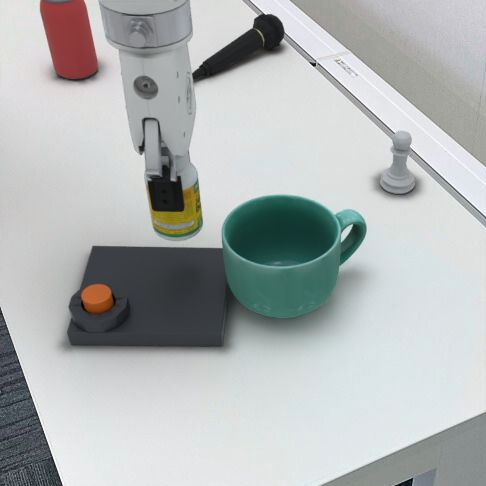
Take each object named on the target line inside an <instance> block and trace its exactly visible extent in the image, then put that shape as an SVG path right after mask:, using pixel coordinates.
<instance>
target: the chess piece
mask: <svg viewBox="0 0 486 486" xmlns="http://www.w3.org/2000/svg"><path fill="white" fill-rule="evenodd" d="M391 139H392V140H391V142H392V145H391V146H390V148H389V150H390V153H392V163H391V164H390V166H389V167H388V168H385V169H384V170H383V171H382V172H381V177H380V179H379V184H380V186H381V187H382V189H383V190H384V191H386V192H388V193H390V194H395V195H402V194H407V193H409V192H411V191H412V190H413V189H414V188H415V185H416V184H415V175H414V173H413V172H412V171H411V170H410V169H409V168H408V166H407V161H408V157H409V155H411V154H412V152H413V150H412V147H410V146H411V145H412V142H413V138H412V135H411V134H410V132H409V131H406V130H398V131H396V132H395V133H394V134H393V136H392V138H391Z"/></svg>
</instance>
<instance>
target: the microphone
mask: <svg viewBox="0 0 486 486" xmlns="http://www.w3.org/2000/svg"><path fill="white" fill-rule="evenodd" d="M285 32H286V31H285V26H284V23H283V22H282V20H281V19H280V18H279V17H278V16H276V15H275V14H272V13H266V14H265V13H261V14H259V15H257V16H256V17H255V18H254V19H253V24H252V27H251V28H250V29H248V30H247V31H246V32H244V33H242V34H240V36H238V37H237V38H235V39H234V40H232V41H231V42H229V43H228V44H227V45H225V46H223V47H222V48H220V49H219V50H218V51H216V52H215V53H214V54H212V55H211V56H209V57H208V58H206V59H205V60H204V61H202V63H201V64H200V65H199V66H198V68H196V69H195V70H194V71H193V72H192V77H193V81H195V80H197V79H200V78H202V77H205V78H206V77H207V76H212V75H213V74H215V73H217V72H220V71H221V70H223V69H226V68H227V67H228V66H231V65H232V64H234V63H236V62H238V61H241V60H242V59H244V58H245V57H248V56H249V55H252V54H253V53H256V52H257V51H259V50H261V49H263V48H264V49H267V50H270V51H272V50H274V49H276V48H278V47H280V46H281V42H283V39H284V38H285Z"/></svg>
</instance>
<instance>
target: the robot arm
mask: <svg viewBox="0 0 486 486" xmlns="http://www.w3.org/2000/svg"><path fill="white" fill-rule="evenodd" d="M98 6H99V10H100V16H101V21H102V26H103V27H102V28H103V31H104V38H105V40H106V42H107V43H108V44H109V45H110V46H111V47H113V48H114V49H116V50H118V56H119V57H118V58H119V65H120V66H119V67H120V76H121V82H122V83H121V84H122V89H123V97H124V102H125V103H124V105H125V109H126V115H127V121H128V128H129V133H130V137H131V142H132V146H133V149H134V151H135V152H136V153H137V154H138V155H140V156H143V155H144V166H145V167H144V168H145V169H144V172H145V171H146V176H147V183H148V189H149V195H150V201H151V206H152V210H153V211H156V212H183V211H184V208H185V204H184V196H183V189H182V181H181V176H177V164H176V155H180V156H184V155H185V154H186V153H187V152H189V153H190V148H191V142H192V137H193V134H194V133H193V131H194V127H195V121H196V117H197V116H196V115H197V97H196V91H195V84H194V80H193V77H192V73H193V72H192V65H191V59H190V57H191V56H190V52H189V45H188V43H189V42H190V41H191V40H192V38H193V36H194V28H193V27H194V26H193V17H192V10H191V9H192V7H191V0H98ZM161 142H164V143H165V144H166V146H167V147H161ZM161 156H168V158H169V167H168V166H167V165H163V164H162V162H161ZM189 158H190V159H191V156H190V154H189Z"/></svg>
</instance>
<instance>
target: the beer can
mask: <svg viewBox="0 0 486 486" xmlns="http://www.w3.org/2000/svg"><path fill="white" fill-rule="evenodd" d="M88 11H89V10H88V7H87V4H86V2H85V0H40V1H39V13H40V17H41V21H42V25H43V29H44V33H45V38H46V42H47V46H48V49H49V55H50V58H51V62H52V65H53V69H54V71H55V73H56V74H57V75H58V76H60V77H62V78H64V79H68V80H82V79H87V78H89V77H91V76H92V75H94V74H95V73H96V72H97V71H98V69H99V61H98V57H97V51H96V47H95V40H94V36H93V31H92V27H91V22H90V17H89V12H88Z"/></svg>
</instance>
